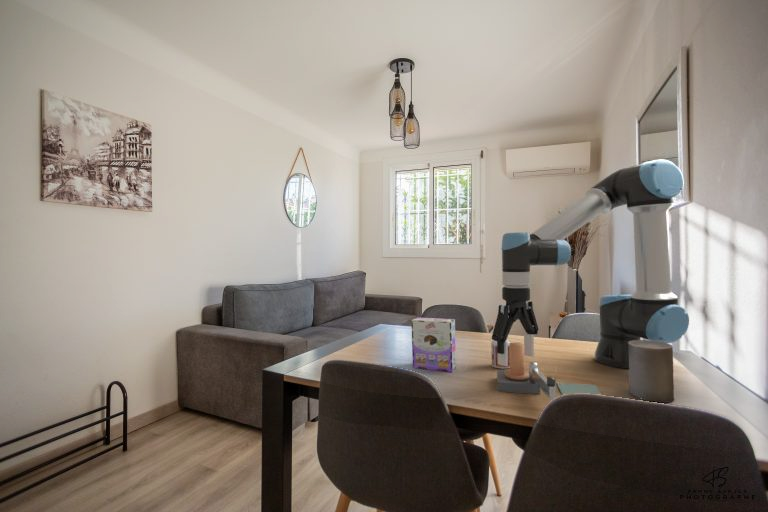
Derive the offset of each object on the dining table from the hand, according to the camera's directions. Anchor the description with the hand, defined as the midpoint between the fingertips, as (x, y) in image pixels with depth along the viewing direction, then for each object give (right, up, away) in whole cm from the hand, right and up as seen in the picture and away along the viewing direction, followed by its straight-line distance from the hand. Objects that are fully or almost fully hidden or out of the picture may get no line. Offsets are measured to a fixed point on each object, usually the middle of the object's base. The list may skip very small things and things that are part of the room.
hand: (516, 360), depth 109 cm
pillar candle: (+32, -7, -9) cm, 34 cm away
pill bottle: (+1, -7, +18) cm, 20 cm away
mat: (+15, -7, -5) cm, 18 cm away
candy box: (-21, -8, +18) cm, 29 cm away
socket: (0, -7, 0) cm, 7 cm away
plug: (0, -7, 0) cm, 7 cm away
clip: (+2, -5, -12) cm, 13 cm away
